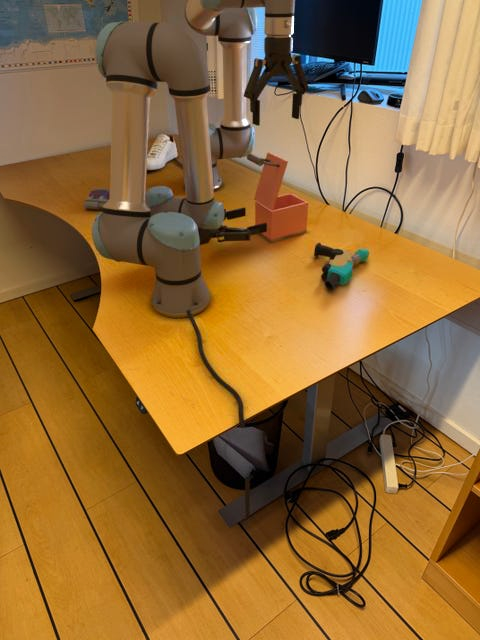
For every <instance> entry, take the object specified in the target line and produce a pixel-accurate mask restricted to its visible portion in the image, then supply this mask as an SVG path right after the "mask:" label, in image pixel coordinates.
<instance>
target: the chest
mask: <svg viewBox="0 0 480 640" xmlns="http://www.w3.org/2000/svg"><path fill="white" fill-rule="evenodd" d="M254 203H255V204H254V207H255V208H254V225H258V224H262V223H267V232H263V233H259V234H258V235H259V236H261V237H263V239H266V240H267V241H268V242H269V243H274V242H278V241H281V240H285V239H288V238H291V237H292V238H293V237H295V236H298V235H302V234H305V233H307V226H308V215H309V214H308V212H309V202H308V201H306V200H304V199H302V198H300V196H297V195H296V194H293V193H292V192H289V193H285V194H281V195H278V196H277V199H276V203H275V206H274V209H273V210H270V209H269V208H267V207H265V206H264V205H262V204H260V203H259V202H257V201H256V200H255V202H254Z"/></svg>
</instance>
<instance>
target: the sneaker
mask: <svg viewBox="0 0 480 640" xmlns="http://www.w3.org/2000/svg"><path fill="white" fill-rule="evenodd" d="M178 156H179V155H178V149H177V144H176V140H175V136H174V135H173V134H164V133H161V134H158V135H157V137H156V139H155V140H154V142H153V143H152V146H151V148H150V150H149V151H148V153H147V171H156V170H160V169H162V168H164V167H165V166H166V164H167V163H168V162H170V161H172V160H174V158H176V159H177V157H178Z"/></svg>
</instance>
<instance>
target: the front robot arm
mask: <svg viewBox="0 0 480 640" xmlns="http://www.w3.org/2000/svg"><path fill="white" fill-rule="evenodd" d="M95 43H96V44H95V51H94V52H95V54H94V55H95V62H96V64H98V65H97V69H98V71H99V74H100V75H101V76H102V77H103V78H104V79H105V86H106V87H107V88H108V89H109V91H110V92H111V94H112V96H111V97H112V98H111V99H112V101H111V132H110V133H111V135H110V138H111V139H110V167H109V169H110V171H109V192H110V196H109V201H108V202H106V203H105V204H104V205H103V210H102V212H100V213H98V214H97V215H95V217H94V221H93V222H92V225H91V238H92V242H93V246H94V249H95V250H96V251H97V252H98V254H99V255H100V256H101V257H103V258H104V259H107V260H111V261H115V262H117V263H121V262H123V263H128V264H134V265H140V266H146V267H153V268H154V274H155V275H154V276H155V281H154V284H153V290H152V294H151V305H152V308H153V310H154V311H155V312H156V313H157V314H159V315H160V316H163V317H167V318H171V319H183V318H185V319H186V318H188V319H189V321H190V323H191V326H193V330H194V332H195V335H196V338H197V346H198V352H199V355H200V358H201V360H202V362H203V364H204V366H205V367H206V369H207V370H208V372H209V373H210V374H211V376H212V377H213V378H214V379H215V380H216V382H218V383H219V384H220V385H221V386H222V387H223V388H225V389H226V390H227V391H228V392H229V393H230V394H231V395H232V396H233V397H234V398H235V400H236V403H237V407H238V411H237V412H238V421H239V427H240V428H241V429H244V428H245V427H246V424H245V417H244V416H245V415H244V403H243V400H242V398H241V396H240V395H239V393H238V392H237V390H235V389H234V387H232V386H231V385H229V384H228V382H226V381H225V380H223V378H222V377H220V375H219V374H218V373H217V372H216V371H215V370H214V368H213V366H212V364H210V362H209V360H208V359H207V356H206V354H205V352H204V348H203V339H202V334H201V332H200V329H199V327H198V325H197V323H196V320H195V318H194V316H196V315H199V314H201V313H202V312H204V311H205V310H207V308H208V307H209V306H210V303H211V294H210V290H209V288H208V286H207V284H206V281H205V278H204V277H203V275H202V262H201V261H202V259H201V246H204V245H206V244H207V245H208V244H210V242H211V240H212V239H217V243H223V242H248V241H251V236H256V235H260V234H259V233H263V232H267V223H262V224H258V225H255V224H254V225H250V226H246V228H244V227H243V228H242V227H241V228H240V227H229V226H228V225H224V224H223V223H224V222H225V221H226V220H227V221H230V220H234V219H238V218H243V217H246V214H247V213H246V210H247V209H246V207H245V206H244V207H240V208H235V209H232V210H227V209H226V208H225V207H224V204H223V202H220V201H217V200H215V191H214V188H213V175H212V162H211V149H210V136H209V124H210V123H209V110H208V95H210V93H211V80H210V73H209V69H208V66H207V63H206V60H205V58H204V55H203V53H202V50H201V49H200V48H199V46H198V45H197V43H196V41H195V39H193V37H192V36H191V35H190V34H189V32H187V31H186V30H185V29H184V28H183V27H181V26H179V25H177V24H175V23H172V22H168V21H160V22H157V21H156V22H153V21H150V22H149V21H127V20H122V21H117V22H109V23H107V24H105V26H104V27H102V29H100V31H99V33H98V36H97V39H96V42H95ZM158 83H166V85H167V88H168V94H169V96H170V97H172V98H173V101H174V108H175V116H176V117H175V118H176V123H177V124H176V126H177V132H178V140H179V141H178V142H179V148H180V158H181V164H182V166H183V167H182V166H181V167H182V172H183V181H184V188H185V197H179V196H174V194H173V189H171V188H170V187H167V186H166V185H157V186H152V187H150V188H149V189H147V188H146V187H147V171H148V170H147V154H148V153H149V151H148V148H149V131H150V130H149V129H150V111H151V110H150V109H151V99H152V98H153V97H154V96H155V95H156V94H157V93H158ZM250 477H251V476H244V488H245V489H244V509H245V510H244V511H245V513H244V514H245V518H247V519H248V518H250V516H251V513H250V512H251V511H250V509H251V508H250V504H251V502H250V501H251V499H250V497H251V496H250V495H251V489H250V488H251V478H250Z"/></svg>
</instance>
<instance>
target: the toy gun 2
mask: <svg viewBox="0 0 480 640" xmlns="http://www.w3.org/2000/svg"><path fill="white" fill-rule="evenodd" d="M313 256H314V257H315V258H318V257H319V256H320V257H327V258H329V261H328V262H326V263H324V265H323V266H322V267H321V271H322V273H321V275H320V278H321V280H322V281H324V287H325V289H327V291H329V292H333V291H334V290H335V288H337V287H338V286H339V285H341V286H343V285H344V286H345V285H346V284H347V283H349V282H350V281H351V280H352V278H353V275H354V271H353V267H355V266H357V265H359V263H364V262H365V261H367V259H368V258H369V257H370V250H369V249H367V248H358V249H357V250H355V252H354V254H352V252H351V251H350V250H347V249H342V248H341V249H340V248H333V247H331V246H327V245H323V244H322V243H321V242H317V243H316V244H315V245H314V252H313Z"/></svg>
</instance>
